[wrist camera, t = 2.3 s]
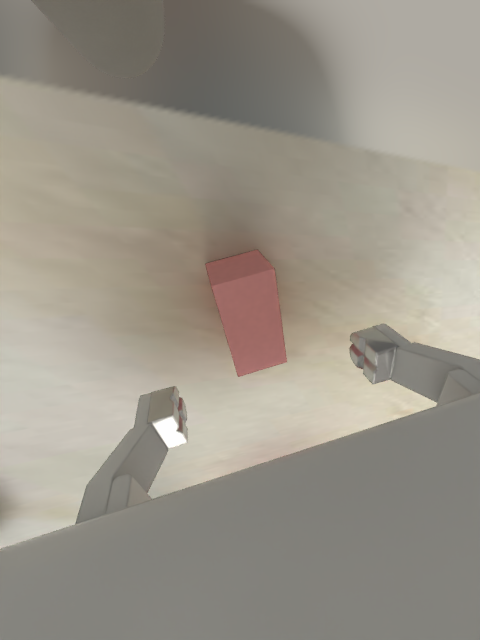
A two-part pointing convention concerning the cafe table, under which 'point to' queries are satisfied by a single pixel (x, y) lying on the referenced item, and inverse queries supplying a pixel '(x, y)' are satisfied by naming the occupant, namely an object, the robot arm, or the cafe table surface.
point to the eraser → (249, 310)
